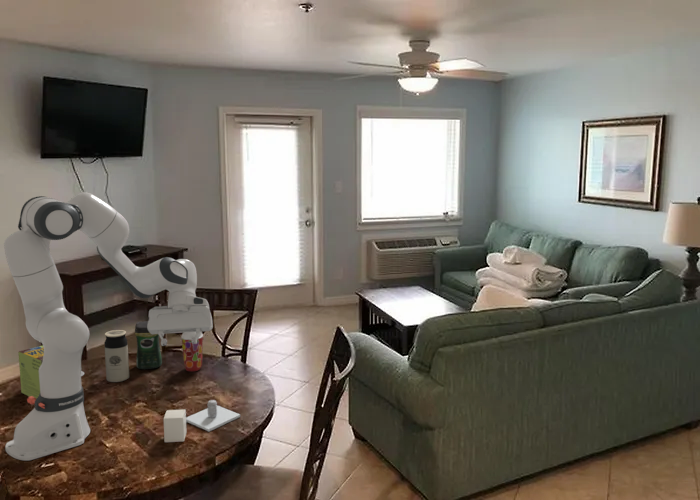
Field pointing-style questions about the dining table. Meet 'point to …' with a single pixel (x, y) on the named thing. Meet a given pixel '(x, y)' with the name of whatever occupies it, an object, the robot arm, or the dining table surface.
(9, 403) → the dining table surface
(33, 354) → the protein box
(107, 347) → the travel mug
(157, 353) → the coffee jar
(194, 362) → the smoothie
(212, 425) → the stud board
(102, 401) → the dining table surface
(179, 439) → the cream rectangular block
